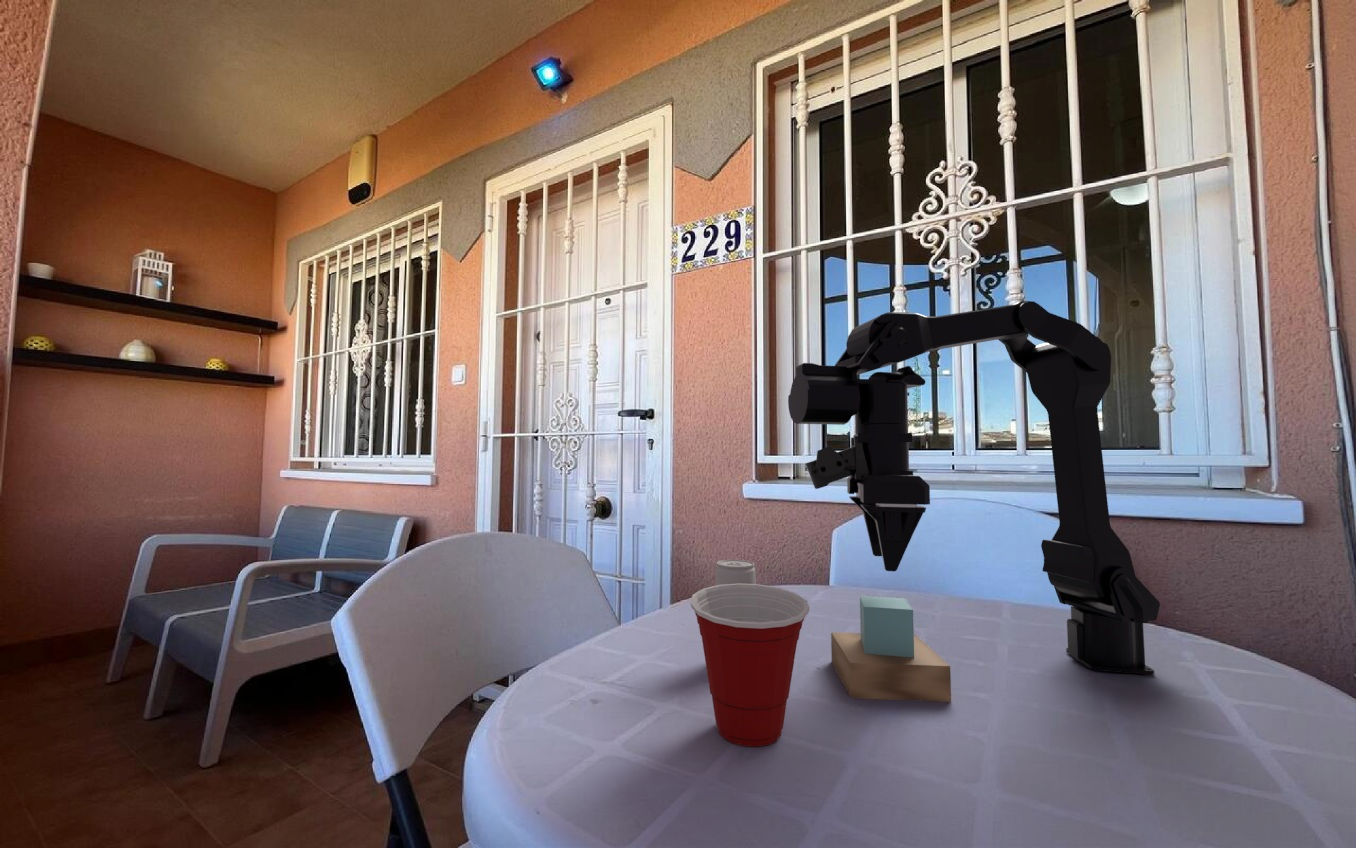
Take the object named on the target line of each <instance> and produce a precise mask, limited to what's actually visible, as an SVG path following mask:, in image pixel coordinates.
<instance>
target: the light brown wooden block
mask: <svg viewBox="0 0 1356 848" xmlns="http://www.w3.org/2000/svg"><path fill="white" fill-rule="evenodd" d="M830 637H831V639H830V640H831V643H830V645H831V648H830V649H831V663H832V666H833V668H834V670H835V671H836V673H837V675H838V677H839V679H840V681H841V682H842V684H843V686H844V688H845V690H846V691H847V694H848V695H849V697H850V699H859V700H860V699H863V700H864V699H865V700H866V699H867V700H891V701H892V700H893V701H912V700H919V701H918V702H941V703H942V702H943V703H946V702H947V703H952V685H951V684H952V682H951V680H952V679H951V678H952V677H951V665H950V664H949V663H948V662H947V661H945V660H944V659H943V658H942V657H941V656H940V655H939V654H938V653H937V652H936V651H934V650H933V648H931V647H930V646H929V645H928V644H927V643H925V642H924V641H923V640H922V639H921V638H920V637H919V636H917V634H914V658H912V657H900V656H888V655H876V654H865V652H864V649H863V645H862V642H861V632H834V631H831V632H830ZM920 700H921V701H920Z"/></svg>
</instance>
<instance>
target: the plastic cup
mask: <svg viewBox="0 0 1356 848" xmlns="http://www.w3.org/2000/svg"><path fill="white" fill-rule="evenodd" d="M689 604H690V606H691V609H692V610H693V611H694V613H695V616H696V620H697V621H696V622H697V624H698V628H699V634H700V636H701V641H702V647H703V648H702V649H703V654H704V660H705V666H706V667H705V669H706V673H707V674H706V675H707V680H708V685H709V686H708V687H709V693H710V695H711V699H712V706H713V712H714V718H715V719H714V720H715V725H716V726H717V732H719V734H720V735H721V737H722V738H724V740H727V741H728V742H730V743H732V744H735V745H739V746H742V747H743V746H744V747H753V748H755V747H757V748H758V747H763V746H764V747H765V746H768V745H771V744H773V743H775V742H777V741H778V740H779V739H780V737H781V735H782V734H781V733H782V730H783V729H784V723H785V717H786V711H787V710H786V709H787V704H788V703H787V701H788V699H789V694H790V690H791V683H792V676H793V670H794V664H795V657H796V651H797V645H798V641H799V639H800V633H801V629H802V627H803V622H804V621H805V618H806V617H807V615H808V614H809V612H810V608H811V607H810V605H809V603H808V600H807V599H805V598H804V597H802V596H801V595H800V594H798V593H796V592H793V591H790V590H787V589H785V588H781V587H776V586H771V585H765V584H758V583H755V584H740V583H738V584H725V585H717V586H716V585H713V586H709V587H705V588H702V589H700V590H698V591H697V592H695V593H694V594H693V593H692V595H691V598H690V601H689Z"/></svg>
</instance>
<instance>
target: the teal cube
mask: <svg viewBox="0 0 1356 848" xmlns="http://www.w3.org/2000/svg"><path fill="white" fill-rule="evenodd" d="M859 614H860V616H859V622H860V623H859V625H860V633H861V642H862V645H863V649H864V652H865V654H876V655H888V656H900V657H912V658H914V635H915V633H914V631H915V629H914V628H915V627H914V609H913V607H912V606H911V605H910V603H909V602H908V600H907V599H906V598H905V597H902V598H901V597H891V596H890V597H889V596H887V597H886V596H885V597H884V596H869V595H859Z"/></svg>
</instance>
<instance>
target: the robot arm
mask: <svg viewBox="0 0 1356 848" xmlns="http://www.w3.org/2000/svg"><path fill="white" fill-rule="evenodd" d="M1027 335H1029V336H1031V338H1034V339H1036V340H1039V341H1041V342H1043V343H1040V344H1038V345H1036V344H1035V343H1033V342H1032V341H1031V340H1029V339H1028V336H1027ZM997 340H998V341H1000V342H1001V343H1002V344H1003V345H1004V347H1005V349H1006V352H1007V354H1008V356H1009V359H1010V361H1012V362H1013V363H1014V364H1015V365H1016V366H1017V367H1019V368H1020V369H1022V370H1023V371H1024V372H1025V373H1027V378H1028V382H1029V385H1030V389H1031V393H1032V394H1033V395H1034V397H1035V398H1036V399H1037V400H1038V402H1040V404H1041V405H1042V406H1043V407H1044V409H1045V410H1046V412H1047V416H1048V426H1049V427H1048V428H1049V433H1050V435H1049V436H1050V444H1051V453H1052V454H1051V455H1052V463H1053V473H1054V481H1055V491H1056V501H1057V510H1058V519H1059V526H1058V527H1057V530H1056V531H1055V533H1054V534H1053V536H1052V537H1051V539H1042V540H1041V544H1040V545H1041V546H1040V547H1041V551H1042V556H1043V567H1042V572H1044V573H1046V574H1047V577H1048V581H1049V583H1050V584H1051V586H1053V587H1054V589H1055V590H1054V591H1055V592H1056V593H1055V594H1056V596H1057V597H1058V598H1057V599H1058V601H1059V603H1060V604H1062V605H1068V606H1070V618H1068V619H1067V620H1066V628H1067V629H1066V632H1067V633H1066V635H1067V647H1066V648H1065V652H1066V653H1067V654H1068V655H1070V656H1071V657H1072V658H1074V659H1075V660H1077V661H1078V662H1080V663H1081V664H1083V665H1084V666H1085V667H1087V668H1088V669H1089V670H1092V671H1097V672H1098V671H1101V672H1111V673H1124V674H1125V673H1126V674H1127V673H1128V674H1129V673H1130V674H1138V675H1139V674H1140V675H1153V676H1154V675H1155V670H1154V669H1153V668H1152V667H1150V666H1148V665H1147V664H1146V652H1145V651H1146V650H1145V636H1144V635H1145V634H1144V624H1149V622H1152V621H1153V622H1154V621H1155V622H1156V621H1157V619H1158V615H1159V611H1160V607H1161V603H1160V601H1159V600H1158V599H1157V598H1156V597H1155V595H1154V594H1153V593H1152V592H1151V591H1150V590H1149V589H1148V588H1147V587H1146V586H1145V585H1144V584H1143V582H1141V580H1140V579H1139V578H1138V577H1137V576H1136V573H1135V572H1136V571H1135V569H1134V565H1133V560H1132V557H1131V553H1130V550H1129V549H1128V548H1127V546H1126V545H1125V544H1124V543H1123V542H1122V540H1121V538H1119V536H1118V535H1117V533H1116V532H1115V531H1114V530H1113V528H1112V527H1111V523H1110V522H1111V520H1110V513H1109V505H1108V504H1109V503H1108V495H1107V487H1106V478H1105V470H1104V469H1105V468H1104V458H1103V449H1102V442H1101V441H1102V439H1101V432H1100V424H1099V423H1100V421H1099V412H1098V407H1099V405H1100V404H1101V401H1102V399H1103V398H1104V396H1105V393H1106V392H1107V390H1108V388H1109V386H1110V384H1111V377H1112V376H1111V373H1112V371H1111V370H1112V353H1111V350H1110V347H1109V345H1108V343H1107V342H1105V341H1103V340H1101V338H1099V337H1098V336H1097V335H1095V334H1093V332H1092V331H1090V330H1089V329H1087V328H1086V327H1085V326H1084V325H1083V324H1081V323H1079V322H1076V321H1073V320H1071V319H1068V318H1066V317H1062V316H1060V315H1056V314H1054V313H1051V312H1050V311H1048V310H1047V309H1045V308H1044V307H1043V306H1042V305H1040V304H1039V303H1037V302H1036V301H1029V300H1022V301H1019V302H1015V303H1013V304H1009V305H1001V306H994V307H989V308H981V309H976V310H969V311H962V312H956V313H955V312H954V313H951V314H950V313H949V314H943V315H938V316H930V315H929V316H927V315H926V316H925V315H923V314H920V313H917V312H899V311H898V312H897V311H896V312H895V311H892V312H890V311H889V312H885V313H882V314H880V315H878V316H876V317H874V318H872V319H870V320H868V321H866V322H864V323H862V324H859V325H857V326H856V327H854V328H852V329H851V331H850V332H849V335H848V336H847V340H846V343H845V344H846V348H845V350H844V352H843V353H842V354H841V356H840V357H839V358H838V360H837V362H835V364H834V365H823V364H822V365H821V364H817V363H813V362H803V363H801V364H798V365H797V366H796V367H795V376H794V379H793V381H792V383H791V387H790V391H789V392H790V393H789V394H788V400H787V403H788V412H789V416H790V419H791V421H792V422H793V423H794V424H797V425H841V426H844V425H846V424H848V423H849V421H850V420H851V418H852V417H855V418H854V419H855V420H854V422H855V423H854V425H855V426H854V429H855V430H854V432H855V434H854V435H853V437H850V447H848V448H845V449H843V450H840V451H836V450H835V449H834V448H833V447H832V446H831V445H830V446H827V447H824V448H822V449H819V450H817V452H816V459H813V460H812V461H808V462H806V463H805V466H806V469H807V471H808V474H809V477H810V479H811V482H812V485H813V488H814V489H815V490H818V489H822V488H824V487H828V486H829V484H831V483H834V482H836V481H839V480H842V479H847V481H846V483H847V486H846V487H847V491H846V492H847V494H848V495H850V496H849V499H850V500H851V501H852V502H853V503H854V504H855V505H856V506H857V507H858V508H859V509H860V510H861V511H862V515H863V519H864V523H865V526H866V527H865V528H866V531H867V536H868V540H869V544H870V548H871V552H872V555H873V556H874V557H882V561H883V566H884V570H885V571H886V572H896V571H897V570H898V569H899V566H900V564H901V561H902V559H903V557H904V555H905V553H906V550H907V549H908V546H909V543H910V542H911V539H912V538H913V535H914V533H915V531H916V530H917V528H918V527H917V526H918V525H919V523H920V521H921V518H922V517H923V514H924V513H926V509H927V507H925V505H931V494H930V493H931V491H930V487H931V486H930V484H928V483H927V482H926V480H924V478H922V477H921V476H920V475H914V471H913V470H911V469H910V457H909V456H910V455H909V452H910V451H909V448H910V447H909V444H910V443H913V433H912V432H910V433H909V413H908V412H909V409H908V407H909V405H908V403H909V402H908V401H909V400H908V389H912V388H917V387H921V386H924V385H925V384H926V379H925V378H923V377H922V376H921V375H920V374H918V373H916V372H915V370H914V369H913V368H912V366H911V365H906V366H903V367H900V368H897V370H896V371H894V372H891V371H890V372H888V371H876V372H874V373H872V374H871V375H870V376H869V377H868V378H858V375H863V374H865V373H868V372H872V371H875V370H878V369H882V368H886V367H888V366H889V367H890V366H892V365H894V364H899V363H902V362H905V361H907V360H911V359H912V358H916V357H917V356H921V355H923V354H925V353H927V352H931V351H937V350H938V351H939V350H943V349H950V348H955V347H960V346H961V347H962V346H967V345H973V344H977V343H978V344H979V343H985V342H992V341H997ZM847 477H848V478H847ZM854 494H855V495H854ZM852 495H854V496H852Z"/></svg>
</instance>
